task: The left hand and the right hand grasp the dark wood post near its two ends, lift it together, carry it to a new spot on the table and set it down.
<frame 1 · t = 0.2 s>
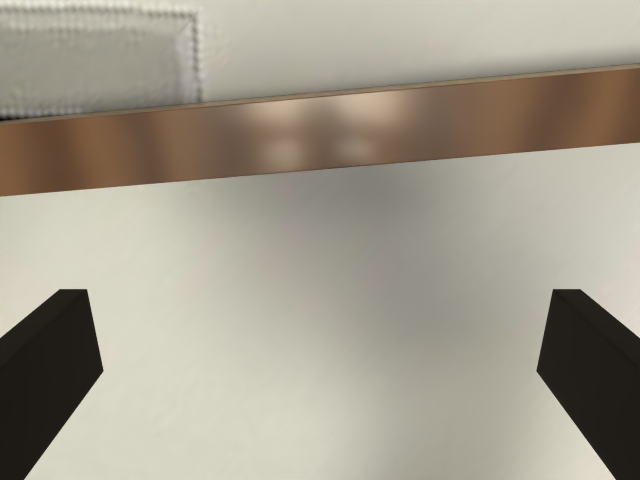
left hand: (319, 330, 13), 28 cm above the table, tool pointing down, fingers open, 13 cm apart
post: (253, 127, 38), on the table
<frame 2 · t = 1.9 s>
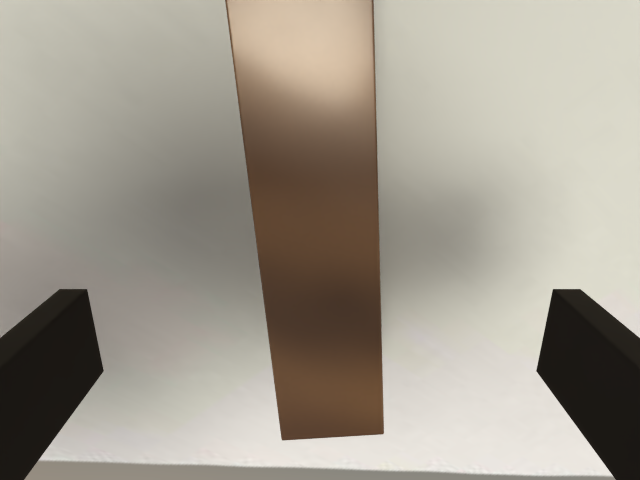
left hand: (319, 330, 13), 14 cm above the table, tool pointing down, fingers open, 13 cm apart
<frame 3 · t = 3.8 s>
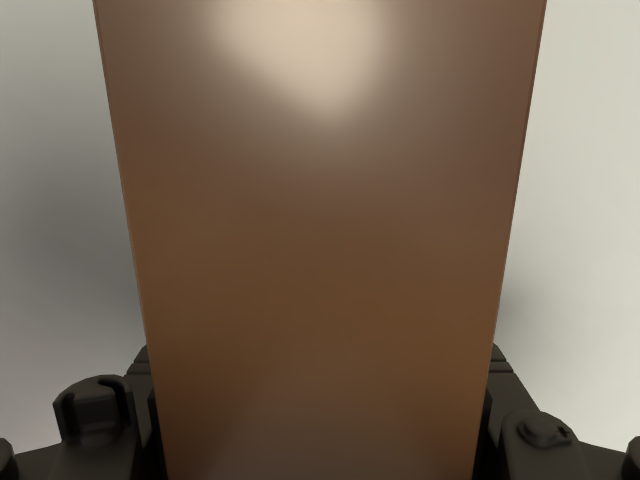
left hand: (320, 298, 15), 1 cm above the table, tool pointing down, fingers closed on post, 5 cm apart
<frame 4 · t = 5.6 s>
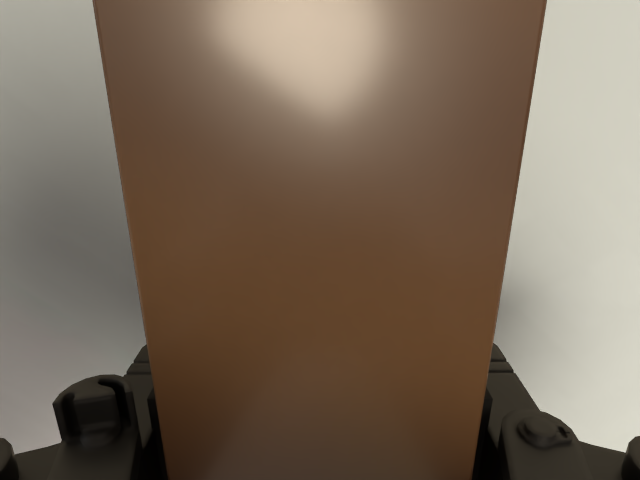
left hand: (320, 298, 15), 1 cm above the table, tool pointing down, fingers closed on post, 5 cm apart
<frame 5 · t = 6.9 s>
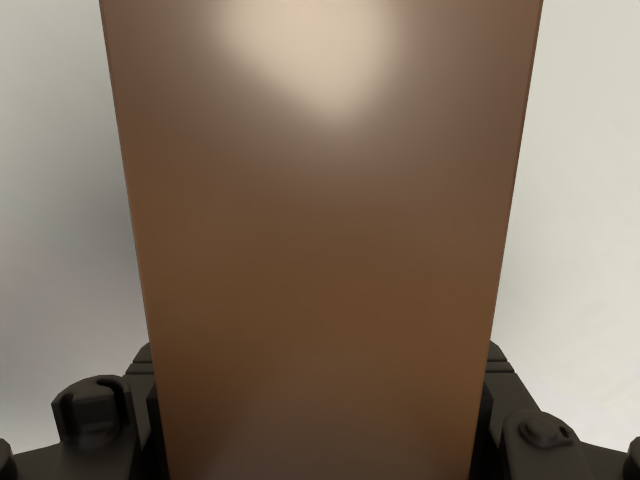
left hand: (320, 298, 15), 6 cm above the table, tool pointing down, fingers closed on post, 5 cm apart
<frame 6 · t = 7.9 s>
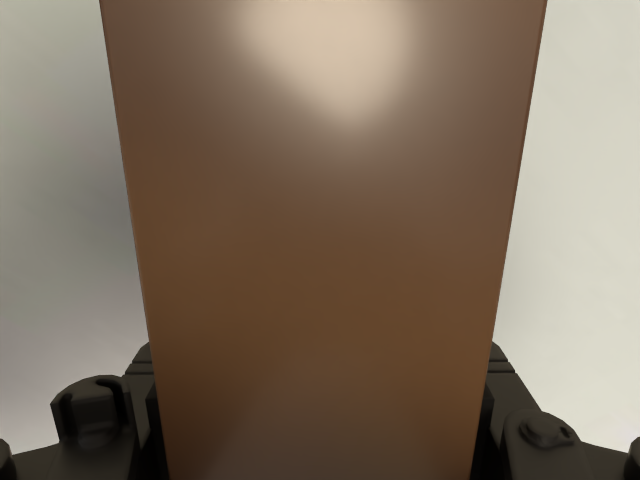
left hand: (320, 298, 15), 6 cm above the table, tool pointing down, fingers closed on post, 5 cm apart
when the left hand's fingers open (2 cm above the table, at t = 9.9 s): post drops 1 cm, on the table.
when the right hand's fingers open (5 cm above the table, at t = 10.1 s): post stays where it is, on the table.
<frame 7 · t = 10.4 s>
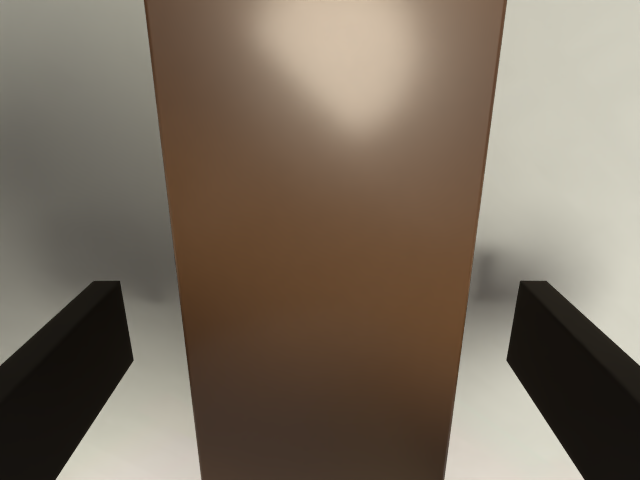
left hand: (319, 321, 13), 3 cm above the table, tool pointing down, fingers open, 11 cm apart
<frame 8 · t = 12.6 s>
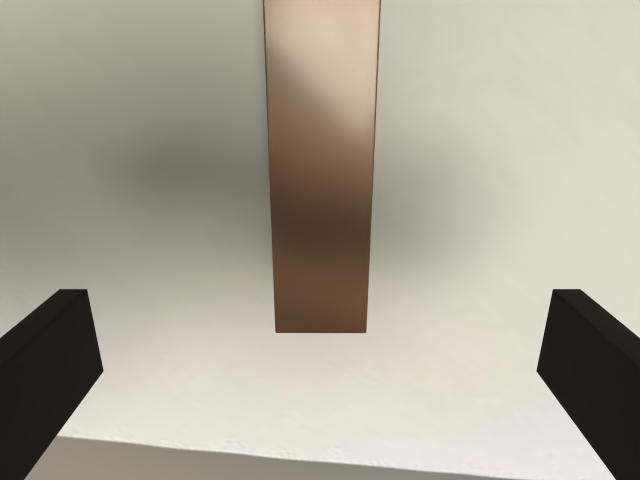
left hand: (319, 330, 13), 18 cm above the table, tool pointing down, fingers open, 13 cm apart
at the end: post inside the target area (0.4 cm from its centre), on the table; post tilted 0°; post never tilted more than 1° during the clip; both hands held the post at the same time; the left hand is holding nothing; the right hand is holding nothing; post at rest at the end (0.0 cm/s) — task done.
